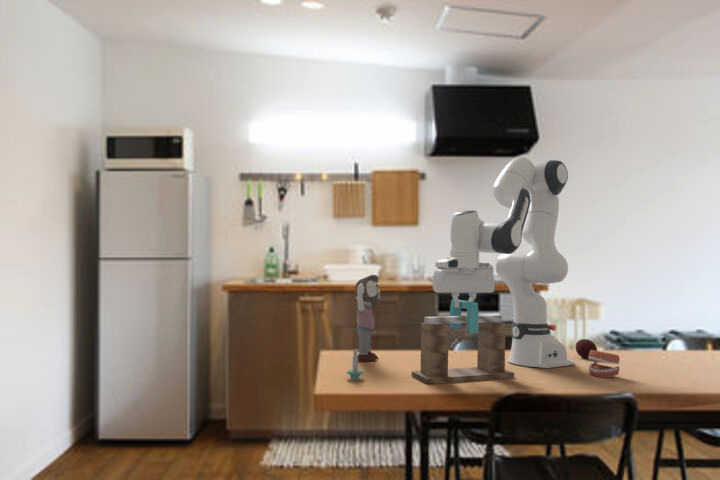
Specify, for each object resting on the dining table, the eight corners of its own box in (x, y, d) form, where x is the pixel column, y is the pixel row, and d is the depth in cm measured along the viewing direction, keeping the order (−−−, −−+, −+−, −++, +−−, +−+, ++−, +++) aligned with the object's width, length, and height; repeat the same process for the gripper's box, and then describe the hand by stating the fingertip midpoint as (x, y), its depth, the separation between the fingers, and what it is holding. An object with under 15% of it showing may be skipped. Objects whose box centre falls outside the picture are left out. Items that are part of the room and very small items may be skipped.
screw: (351, 376, 155) (366, 378, 153) (343, 380, 151) (358, 382, 149) (351, 346, 156) (366, 348, 154) (344, 349, 151) (359, 350, 149)
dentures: (581, 373, 165) (581, 348, 165) (595, 371, 169) (595, 347, 169) (606, 379, 158) (606, 353, 158) (620, 377, 161) (620, 351, 161)
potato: (584, 360, 187) (584, 341, 187) (570, 356, 194) (571, 337, 195) (601, 360, 189) (601, 340, 189) (587, 355, 196) (588, 337, 196)
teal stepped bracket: (458, 328, 164) (458, 299, 164) (478, 333, 153) (478, 302, 153) (449, 328, 163) (450, 299, 163) (469, 333, 152) (469, 303, 152)
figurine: (373, 367, 169) (375, 275, 170) (345, 365, 171) (347, 275, 172) (382, 356, 187) (383, 274, 188) (356, 355, 189) (358, 273, 190)
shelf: (495, 370, 167) (495, 313, 168) (514, 377, 158) (514, 317, 159) (411, 376, 157) (412, 315, 158) (426, 384, 148) (427, 319, 148)
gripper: (487, 262, 165) (486, 306, 165) (430, 261, 158) (429, 306, 158) (499, 263, 159) (498, 308, 159) (440, 262, 152) (439, 308, 152)
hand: (463, 307), depth 158 cm, fingers closed on teal stepped bracket, 2 cm apart
